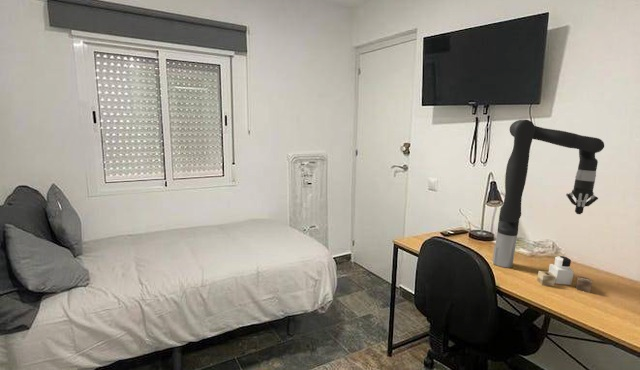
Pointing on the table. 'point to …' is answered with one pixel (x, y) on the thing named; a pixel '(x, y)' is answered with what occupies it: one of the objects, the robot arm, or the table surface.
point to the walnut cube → (584, 284)
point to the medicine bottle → (562, 270)
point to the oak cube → (546, 278)
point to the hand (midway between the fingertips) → (578, 213)
